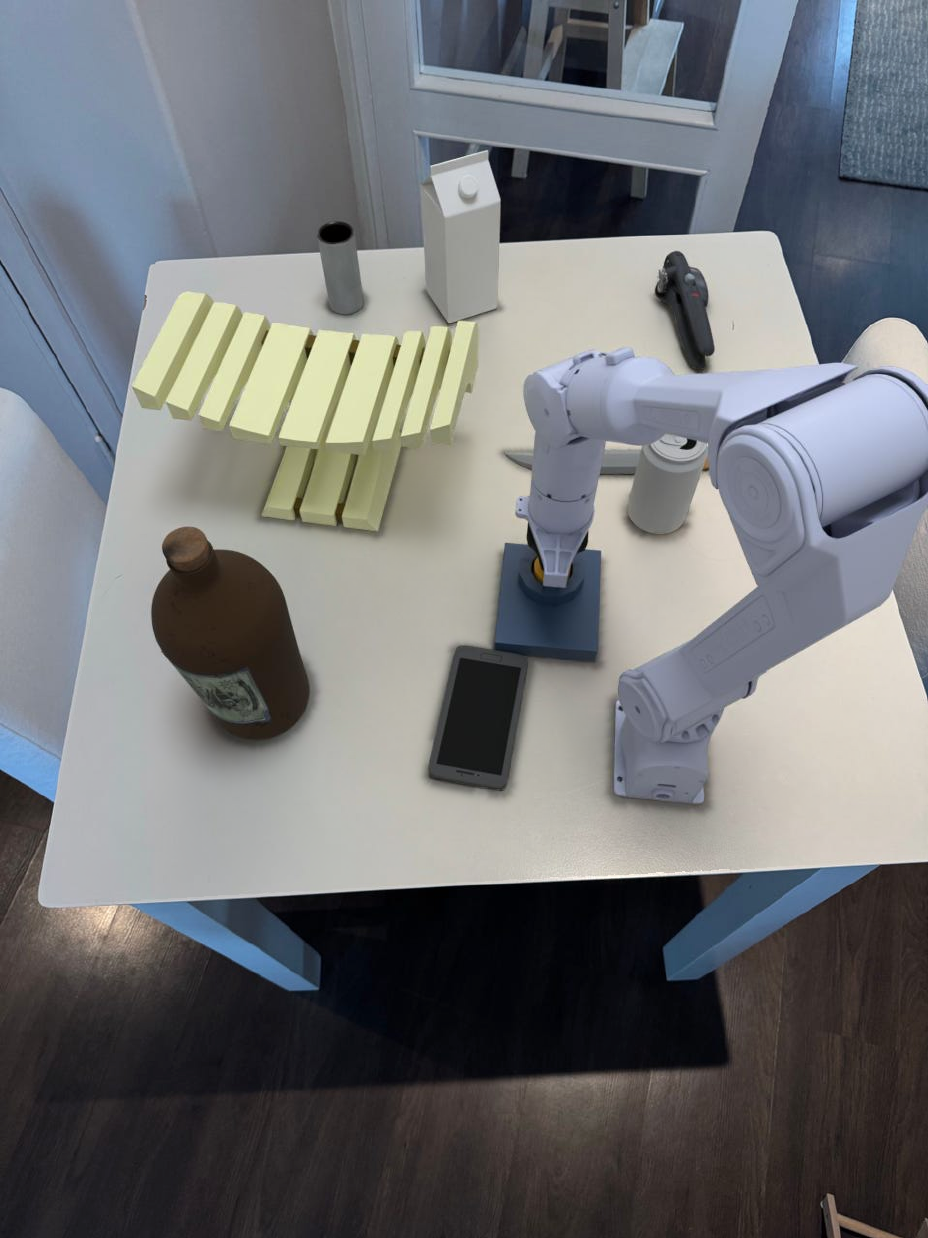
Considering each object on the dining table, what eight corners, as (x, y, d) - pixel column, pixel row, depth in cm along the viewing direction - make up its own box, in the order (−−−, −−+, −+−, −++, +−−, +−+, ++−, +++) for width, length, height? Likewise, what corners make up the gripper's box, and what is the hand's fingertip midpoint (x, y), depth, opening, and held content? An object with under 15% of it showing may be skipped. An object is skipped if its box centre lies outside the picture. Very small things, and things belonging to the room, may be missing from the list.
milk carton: (426, 292, 111) (417, 149, 94) (474, 276, 112) (474, 134, 96) (448, 325, 107) (443, 183, 91) (497, 308, 109) (502, 166, 93)
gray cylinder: (322, 308, 109) (309, 237, 100) (341, 287, 111) (329, 216, 103) (352, 318, 108) (341, 247, 99) (370, 298, 110) (361, 226, 101)
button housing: (595, 662, 82) (600, 642, 79) (494, 653, 83) (494, 633, 79) (598, 562, 88) (603, 539, 85) (504, 554, 89) (505, 531, 86)
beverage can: (682, 542, 90) (709, 467, 79) (622, 532, 90) (641, 457, 80) (686, 496, 93) (713, 418, 82) (628, 487, 93) (647, 409, 83)
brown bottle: (229, 638, 84) (145, 474, 63) (330, 658, 83) (279, 498, 61) (189, 734, 79) (81, 591, 57) (295, 757, 78) (226, 620, 56)
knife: (504, 476, 94) (504, 441, 96) (504, 483, 95) (504, 448, 97) (778, 475, 92) (771, 439, 95) (775, 482, 93) (768, 447, 96)
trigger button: (567, 593, 84) (569, 582, 82) (531, 590, 84) (533, 579, 82) (569, 564, 85) (571, 552, 84) (534, 561, 86) (535, 549, 84)
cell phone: (529, 658, 82) (529, 655, 82) (505, 792, 75) (506, 789, 75) (456, 646, 83) (456, 642, 82) (426, 777, 76) (425, 774, 76)
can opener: (646, 281, 111) (653, 243, 107) (698, 278, 112) (708, 240, 107) (670, 375, 102) (680, 338, 97) (727, 372, 102) (739, 336, 98)
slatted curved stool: (477, 432, 98) (478, 306, 83) (454, 541, 90) (450, 423, 75) (232, 403, 101) (188, 275, 85) (188, 506, 93) (131, 385, 77)
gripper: (524, 410, 75) (517, 505, 87) (511, 540, 68) (505, 625, 79) (603, 415, 75) (585, 510, 86) (598, 547, 67) (580, 631, 79)
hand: (552, 565), depth 83 cm, fingers closed, pressing on trigger button
